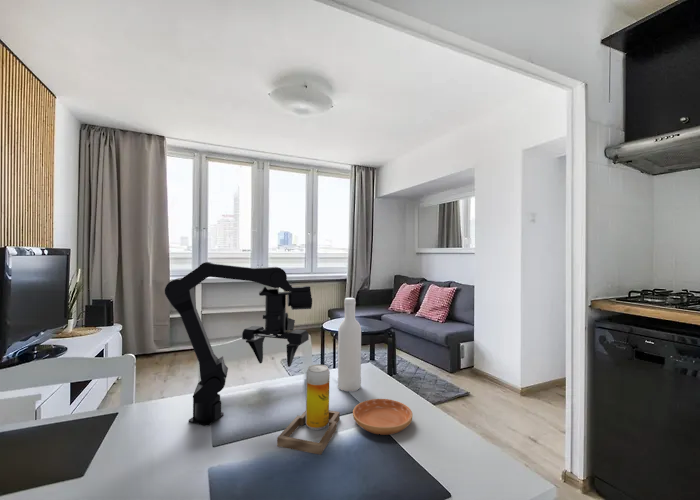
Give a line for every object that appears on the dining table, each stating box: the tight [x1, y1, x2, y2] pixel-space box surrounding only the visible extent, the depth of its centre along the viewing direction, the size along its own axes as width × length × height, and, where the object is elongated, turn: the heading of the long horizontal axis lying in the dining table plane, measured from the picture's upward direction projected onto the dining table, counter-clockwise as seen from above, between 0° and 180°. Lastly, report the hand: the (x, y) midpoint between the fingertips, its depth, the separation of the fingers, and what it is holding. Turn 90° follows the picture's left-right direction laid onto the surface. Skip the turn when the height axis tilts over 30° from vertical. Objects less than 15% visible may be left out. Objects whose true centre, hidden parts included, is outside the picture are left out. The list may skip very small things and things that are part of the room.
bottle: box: [337, 297, 362, 392], centre depth 111 cm, size 8×8×30 cm
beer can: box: [305, 364, 331, 431], centre depth 86 cm, size 6×6×15 cm
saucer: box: [352, 398, 413, 436], centre depth 88 cm, size 16×16×3 cm
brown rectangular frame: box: [276, 409, 341, 455], centre depth 83 cm, size 11×16×2 cm
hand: (274, 364), depth 94 cm, fingers open, 9 cm apart
